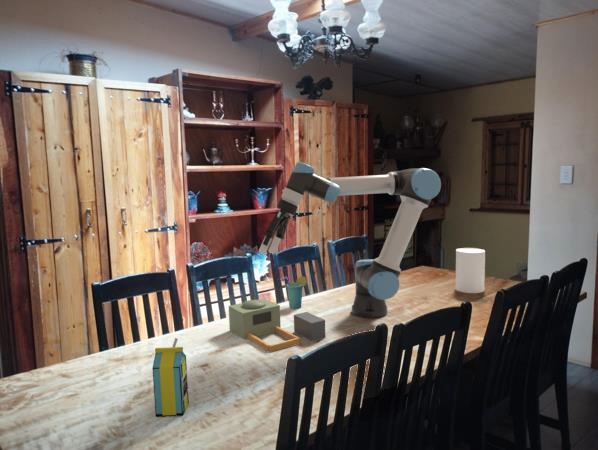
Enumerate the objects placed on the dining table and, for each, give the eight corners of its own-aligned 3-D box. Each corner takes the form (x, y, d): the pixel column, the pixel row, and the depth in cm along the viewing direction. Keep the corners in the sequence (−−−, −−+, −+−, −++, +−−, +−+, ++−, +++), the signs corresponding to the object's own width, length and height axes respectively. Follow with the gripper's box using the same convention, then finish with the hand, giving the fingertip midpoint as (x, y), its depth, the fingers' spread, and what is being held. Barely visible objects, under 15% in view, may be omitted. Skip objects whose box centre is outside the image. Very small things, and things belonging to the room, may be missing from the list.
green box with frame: (265, 322, 189) (264, 296, 187) (304, 342, 166) (303, 312, 164) (229, 330, 180) (228, 303, 178) (265, 353, 157) (264, 322, 155)
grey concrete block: (307, 329, 180) (306, 311, 179) (325, 338, 170) (325, 319, 169) (294, 332, 176) (293, 314, 176) (312, 341, 166) (311, 323, 166)
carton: (190, 400, 126) (186, 337, 123) (184, 415, 118) (180, 348, 116) (162, 401, 125) (158, 338, 123) (155, 417, 118) (150, 349, 116)
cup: (286, 313, 200) (285, 279, 198) (276, 309, 206) (275, 276, 204) (311, 306, 208) (310, 274, 207) (300, 303, 214) (299, 271, 213)
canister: (449, 288, 233) (450, 249, 231) (469, 284, 239) (470, 247, 237) (469, 294, 221) (470, 253, 219) (490, 290, 227) (491, 250, 224)
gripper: (288, 201, 186) (266, 248, 187) (272, 194, 162) (248, 248, 163) (304, 208, 185) (283, 256, 186) (291, 202, 160) (266, 257, 161)
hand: (266, 253), depth 174 cm, fingers open, 13 cm apart
